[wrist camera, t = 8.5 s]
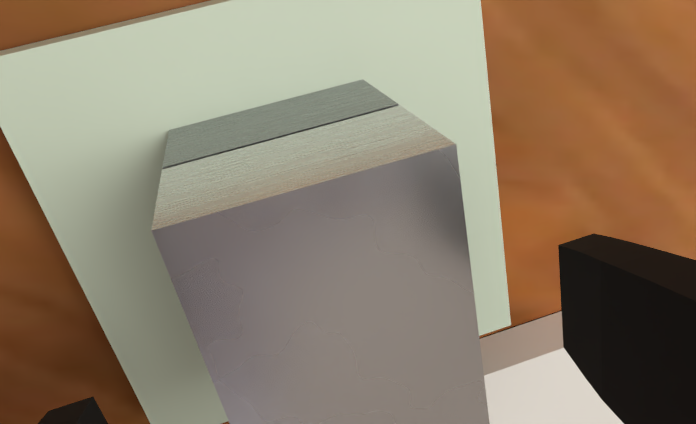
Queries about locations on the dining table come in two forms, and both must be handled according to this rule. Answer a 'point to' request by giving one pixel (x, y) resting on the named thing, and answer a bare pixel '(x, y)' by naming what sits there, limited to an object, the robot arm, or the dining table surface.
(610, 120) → the dining table surface
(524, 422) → the stand
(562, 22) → the dining table surface
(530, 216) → the dining table surface
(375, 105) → the block
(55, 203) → the stand
